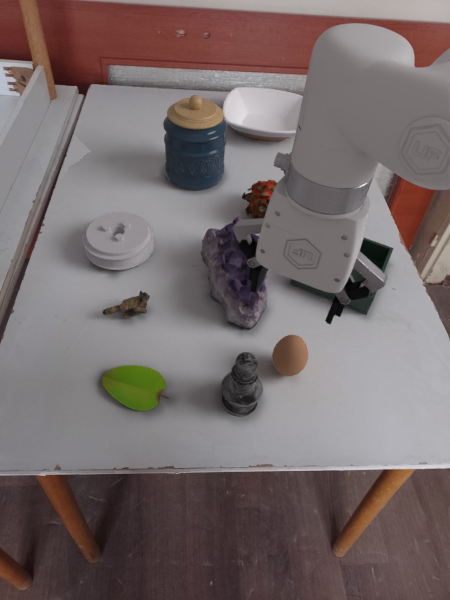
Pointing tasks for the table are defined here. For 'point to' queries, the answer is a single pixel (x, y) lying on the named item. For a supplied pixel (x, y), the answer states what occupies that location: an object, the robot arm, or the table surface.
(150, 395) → the decorative leaf
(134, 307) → the cat figurine
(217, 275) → the geode
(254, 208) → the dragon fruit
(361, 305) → the box
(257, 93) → the bowl
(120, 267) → the lid
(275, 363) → the egg
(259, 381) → the grey tall stone piece
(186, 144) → the canister
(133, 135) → the table surface
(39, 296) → the table surface
